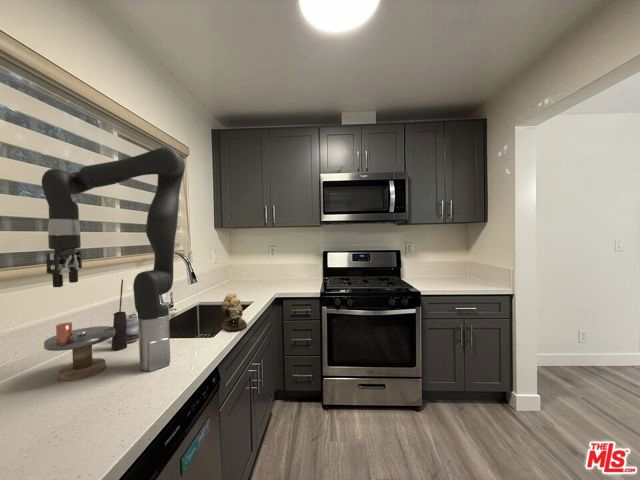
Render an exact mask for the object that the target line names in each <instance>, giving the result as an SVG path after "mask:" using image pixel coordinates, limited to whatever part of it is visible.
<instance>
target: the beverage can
mask: <svg viewBox="0 0 640 480" xmlns="http://www.w3.org/2000/svg"><path fill="white" fill-rule="evenodd" d="M126 323H127V327H126V329H127V332H126V333H127V343H132V342H135V341H137V340H139V330H138V314H136V313H135V312H131V313H126Z"/></svg>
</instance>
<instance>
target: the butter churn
mask: <svg viewBox="0 0 640 480" xmlns="http://www.w3.org/2000/svg"><path fill="white" fill-rule="evenodd" d="M123 287H124V279H121V283H120V298H119V310H118V311H117V312H115V313H112V315H113V325H112V327H114V328H115V335H114V336H113V337H112V338H111V345H110V347H111V348H110V350H111V351H115V352H116V351H121V350H125V349H126V348H128V342H127V333H126V332H127V329H126V327H127V323H126V314H127V313H126V311H122V302H123V300H122V298H123Z"/></svg>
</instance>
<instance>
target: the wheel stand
mask: <svg viewBox="0 0 640 480" xmlns="http://www.w3.org/2000/svg"><path fill="white" fill-rule="evenodd" d="M71 350H72V351H71V352H72V353H71V354H72V363H70V364H68V365H65V366H63V367H62V368H61V369H60V370H58V373H57V374H58V380H59V381H60V382H75V381H79V380H84V379H87V378H90V377H93V376H95V375H98V374H100V373H102V372H103V371H104V370H105V369H106V368H107V363H106V362H107V361H106V359H105V358H100V357H95V358H93V345H90V346H86V347H82V348H77V349H71Z"/></svg>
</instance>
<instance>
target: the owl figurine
mask: <svg viewBox="0 0 640 480" xmlns="http://www.w3.org/2000/svg"><path fill="white" fill-rule="evenodd" d="M221 311H222V313H223V314H224V316H226V317H225V319H224V321H223V323H221V329H222V330H223V329H224V330H227V331H226V332H228V331H231V332H232V331H234V332H236V331H243V330H246V328H247V326H248V324H247V321H245V319H244V318H243V312H244V311H243V307H242V305H241V300H240V298H238V296H237V295H236V293H235V292H229V293H228V294H227V295H226V296H225V298H224V300H222V302H221ZM233 321H236V322H233ZM224 330H223V331H224Z"/></svg>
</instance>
